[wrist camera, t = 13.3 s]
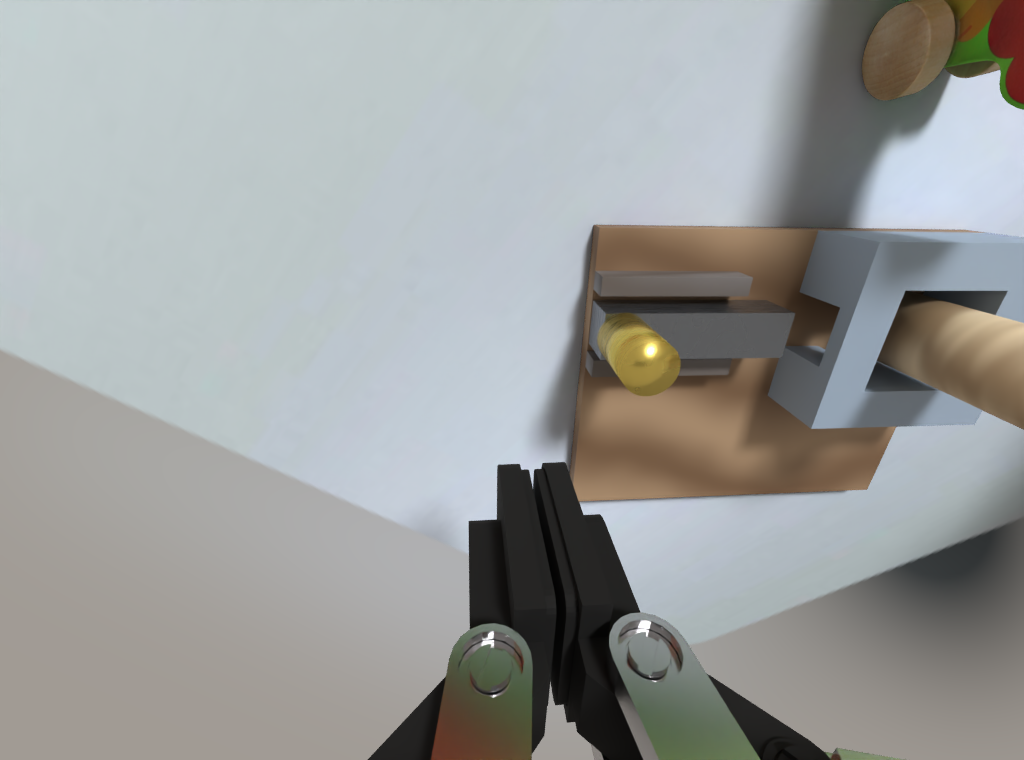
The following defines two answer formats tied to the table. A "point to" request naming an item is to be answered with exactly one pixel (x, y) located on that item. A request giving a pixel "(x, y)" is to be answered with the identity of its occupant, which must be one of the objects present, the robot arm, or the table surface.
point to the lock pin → (682, 336)
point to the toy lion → (946, 46)
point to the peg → (960, 353)
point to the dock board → (710, 376)
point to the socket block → (890, 322)
